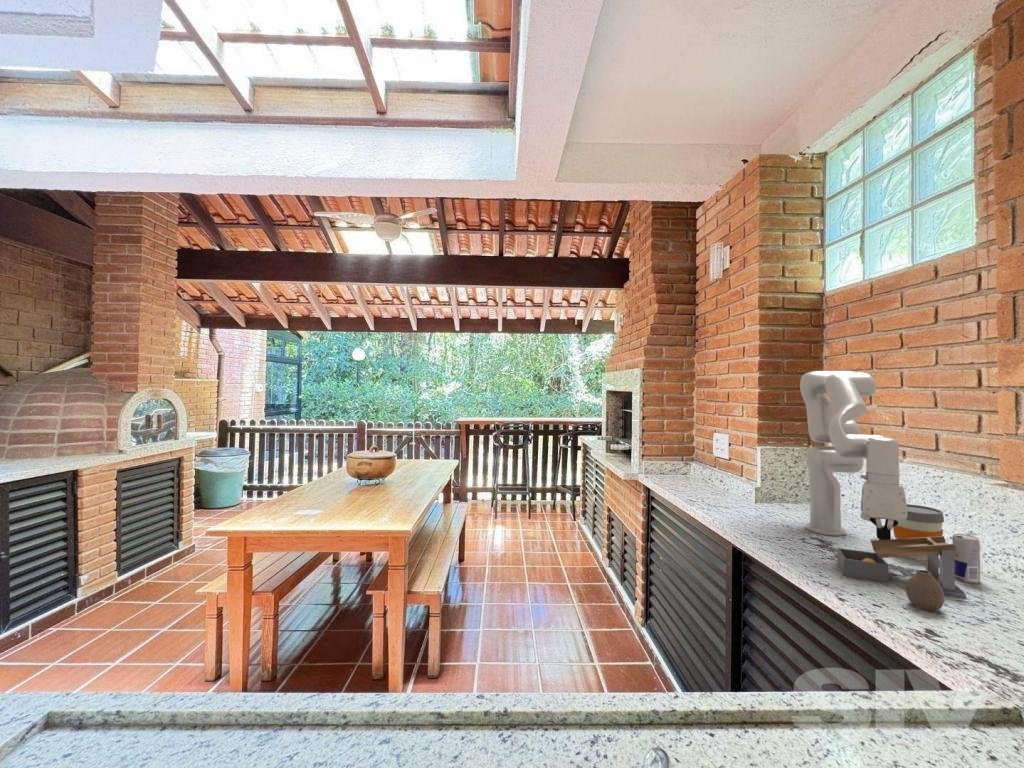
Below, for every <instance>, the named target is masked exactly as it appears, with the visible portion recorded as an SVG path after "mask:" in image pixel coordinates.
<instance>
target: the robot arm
mask: <svg viewBox="0 0 1024 768" xmlns="http://www.w3.org/2000/svg"><path fill="white" fill-rule="evenodd" d="M876 384H877V383H876V381H875V379H874V377H873V376H872V375H870V374H869V373H866V372H862V371H855V370H813V371H809V372H806V373H804V374H802V376H801V378H800V382H799V387H800V388H799V389H800V394H801V396H802V398H803V399H802V400H803V401H804V404H805V408H806V416H807V418H806V419H807V428H808V435H809V437H810V439H811V440H812V442H815V443H821V444H823V443H825V444H832V446H831V445H826V446H823V445H820V446H819V445H818V446H814V447H810V448H809V449H808V450H807V451H806V457H805V458H806V464H807V469H808V475H809V476H808V479H809V522H808V523H805V527H804V528H805V530H807V531H809V532H813V533H815V534H819V535H823V536H824V535H825V536H834V537H835V536H836V537H838V536H839V537H840V536H845V535H846V534H847V530H846V528H843V527H842V516H841V515H842V513H841V512H842V510H841V506H842V504H841V502H842V500H841V494H842V493H841V485H840V482H839V480H838V478H836V476H834V473H842V474H843V473H847V474H848V473H849V474H852V473H853V474H854V473H859V472H860V471H862V469H863V467H864V459H866V461H865V462H866V464H865V465H866V467H865V469H866V471H865V473H860V479H864V480H865V481H864V482H863V485H862V490H861V498H860V499H861V500H860V511H861V513H860V518H861V519H862V520H865V521H867V522H871V523H872V525H874V526H875V527H876V538H879V540H889V539H891V538H892V537H891V535H892V534H891V533H892V532H891V531H892V530H893V527H894V526H896V525H897V524H906V523H907V520H906V519H907V504H908V503H907V497H906V492H905V488H904V486H903V485H902V484H900V452H899V451H900V449H899V448H900V447H899V446H900V445H899V442H898V440H897V439H896V438H891V437H886V436H884V435H881V434H866V433H865V434H863V433H862V434H861V429H860V426H859V424H858V423H857V422H856V419H858V418H860V417H862V416H863V415H864V414H865V413H866V412H867V405H866V403H865V401H864V399H863V398H869V397H871V396H873V395H874V394H875V392H876V390H877V385H876ZM824 394H827V396H828V398H829V399H828V398H827V396H825V395H824ZM882 520H885V521H884V525H882Z"/></svg>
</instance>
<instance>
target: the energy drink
mask: <svg viewBox="0 0 1024 768" xmlns="http://www.w3.org/2000/svg"><path fill="white" fill-rule="evenodd" d="M951 539H952V544H955V547H956V550H957V554H954V560H955V580H957V581H960V582H963V583H967V584H974V585H975V584H979V583H981V549H980V548H981V542H980V540H979V538H978V536H977V537H976V536H974V535H969V534H963V533H953V535H952V538H951Z"/></svg>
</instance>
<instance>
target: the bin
mask: <svg viewBox="0 0 1024 768" xmlns="http://www.w3.org/2000/svg"><path fill="white" fill-rule="evenodd" d="M865 558H870V559H873V560H875V561H876V562H877V563H873V562H866V561H862V560H863V559H865ZM837 564H838V565H837ZM836 565H837V567H838V566H839V567H838V568H840V569H839V570H841V571H840V573H841V575H842V576H843V577H844V576H847V577H846V578H849V577H852V578H851V579H856V578H857V580H862V579H863V581H870V582H876V583H883V584H889V564H888V563H887V562H886V560H885V559H884V558H880V557H879V556H878V555H877V554H876V552H870V551H863V550H855V549H848V548H841V547H836Z"/></svg>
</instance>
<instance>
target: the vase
mask: <svg viewBox="0 0 1024 768" xmlns="http://www.w3.org/2000/svg"><path fill="white" fill-rule="evenodd" d="M905 593H906V596H907V599H908V600H909V602H910V603H911V604H912V605H913V606H914V607H916V608H917V609H919V610H921V611H927V612H936V611H938V610H940V609H941V608H942V607H943V606H944V603H945V595H944V592H943V589H942V587H941V586H940V584H939V583H938V582H937V581H936V580H935V579H934V577H933V576H932V574H931V573H930V572H929V571H926V569H918V571H917V573H916V572H915V573H914V575H912V576H910V578H908V579H907V581H906V585H905Z"/></svg>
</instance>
